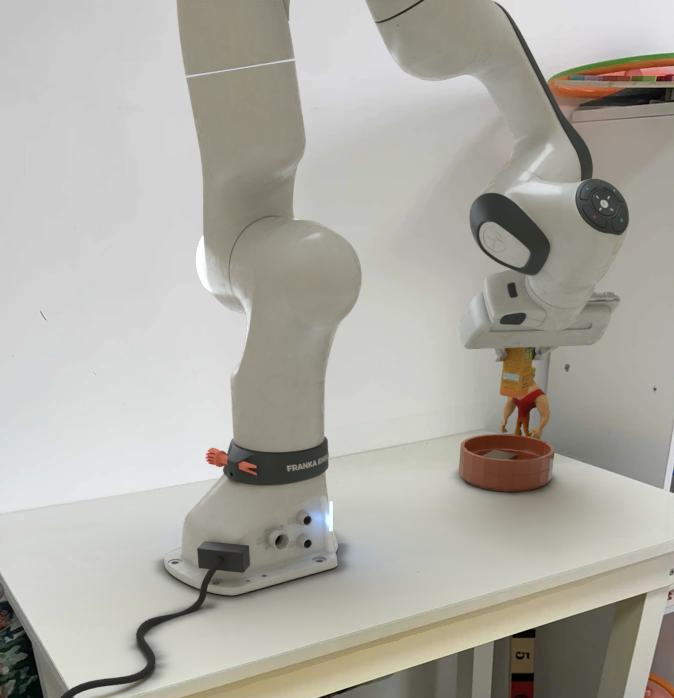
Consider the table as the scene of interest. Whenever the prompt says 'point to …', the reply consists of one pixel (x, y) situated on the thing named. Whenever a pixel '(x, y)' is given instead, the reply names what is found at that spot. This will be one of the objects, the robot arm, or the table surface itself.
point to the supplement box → (516, 372)
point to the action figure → (528, 409)
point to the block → (501, 455)
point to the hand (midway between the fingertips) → (516, 357)
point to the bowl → (506, 462)
